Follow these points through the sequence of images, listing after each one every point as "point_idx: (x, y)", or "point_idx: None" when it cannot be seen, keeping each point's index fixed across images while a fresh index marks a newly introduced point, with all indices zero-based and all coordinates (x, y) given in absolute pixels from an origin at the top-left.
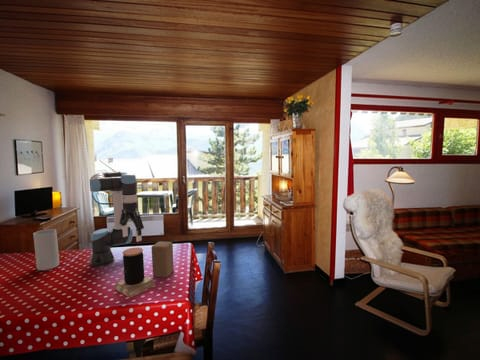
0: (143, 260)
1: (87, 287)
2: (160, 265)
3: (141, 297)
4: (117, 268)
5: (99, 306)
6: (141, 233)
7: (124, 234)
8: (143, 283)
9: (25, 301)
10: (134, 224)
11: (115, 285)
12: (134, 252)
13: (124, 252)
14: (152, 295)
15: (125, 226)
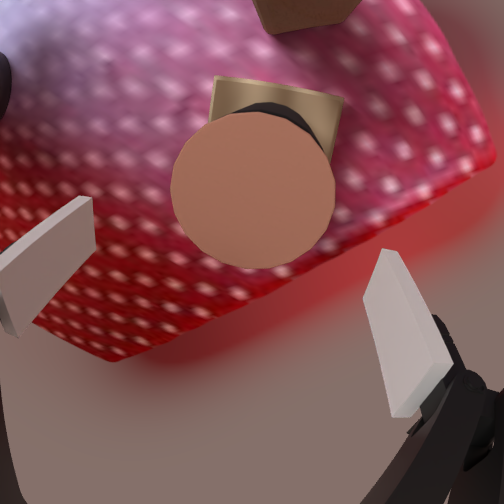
0: (305, 124)
1: (104, 221)
2: (320, 14)
3: (354, 189)
4: (59, 75)
5: (256, 279)
6: (448, 332)
7: (81, 253)
8: (328, 149)
9: (67, 319)
10: (368, 497)
11: None
12: (295, 218)
13: (216, 247)
14: (386, 163)
15: (14, 294)
